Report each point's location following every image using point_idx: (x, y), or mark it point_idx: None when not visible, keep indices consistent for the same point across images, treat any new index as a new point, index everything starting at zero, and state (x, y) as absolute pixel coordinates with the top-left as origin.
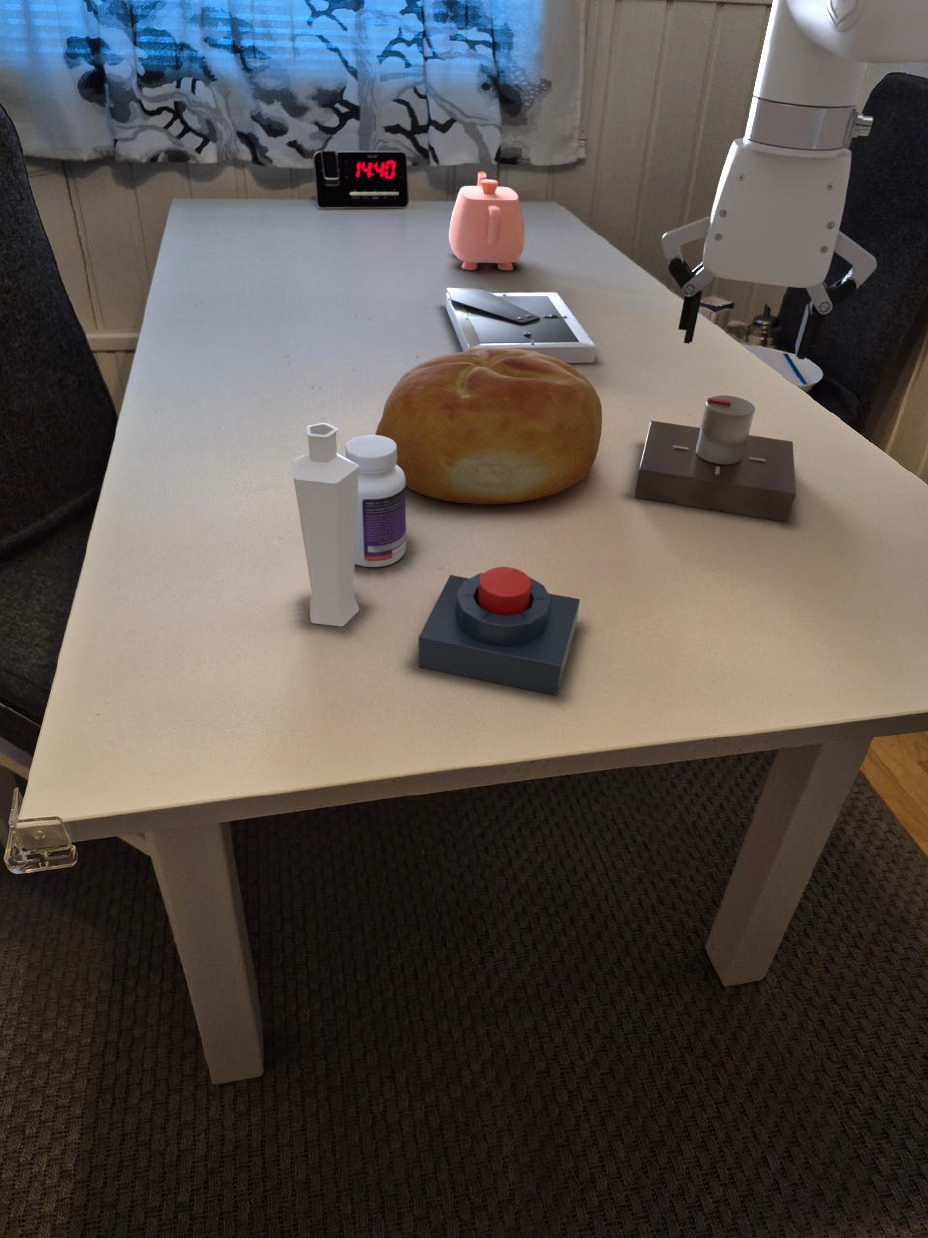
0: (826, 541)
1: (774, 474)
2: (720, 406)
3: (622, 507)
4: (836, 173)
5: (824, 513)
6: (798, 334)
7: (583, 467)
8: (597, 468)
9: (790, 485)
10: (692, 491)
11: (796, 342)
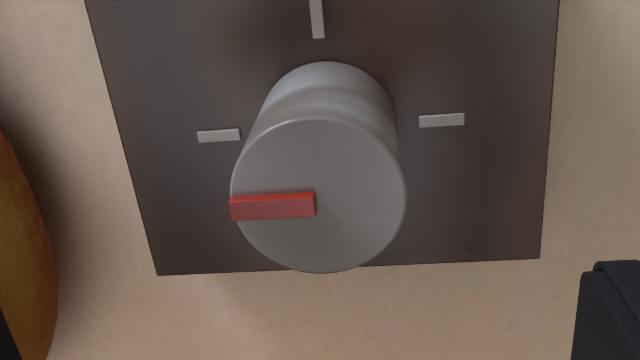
0: (600, 258)
1: (489, 182)
2: (285, 227)
3: (171, 277)
4: None
5: (618, 142)
6: (610, 316)
7: (47, 345)
8: (53, 138)
9: (529, 225)
10: None
11: (590, 300)
